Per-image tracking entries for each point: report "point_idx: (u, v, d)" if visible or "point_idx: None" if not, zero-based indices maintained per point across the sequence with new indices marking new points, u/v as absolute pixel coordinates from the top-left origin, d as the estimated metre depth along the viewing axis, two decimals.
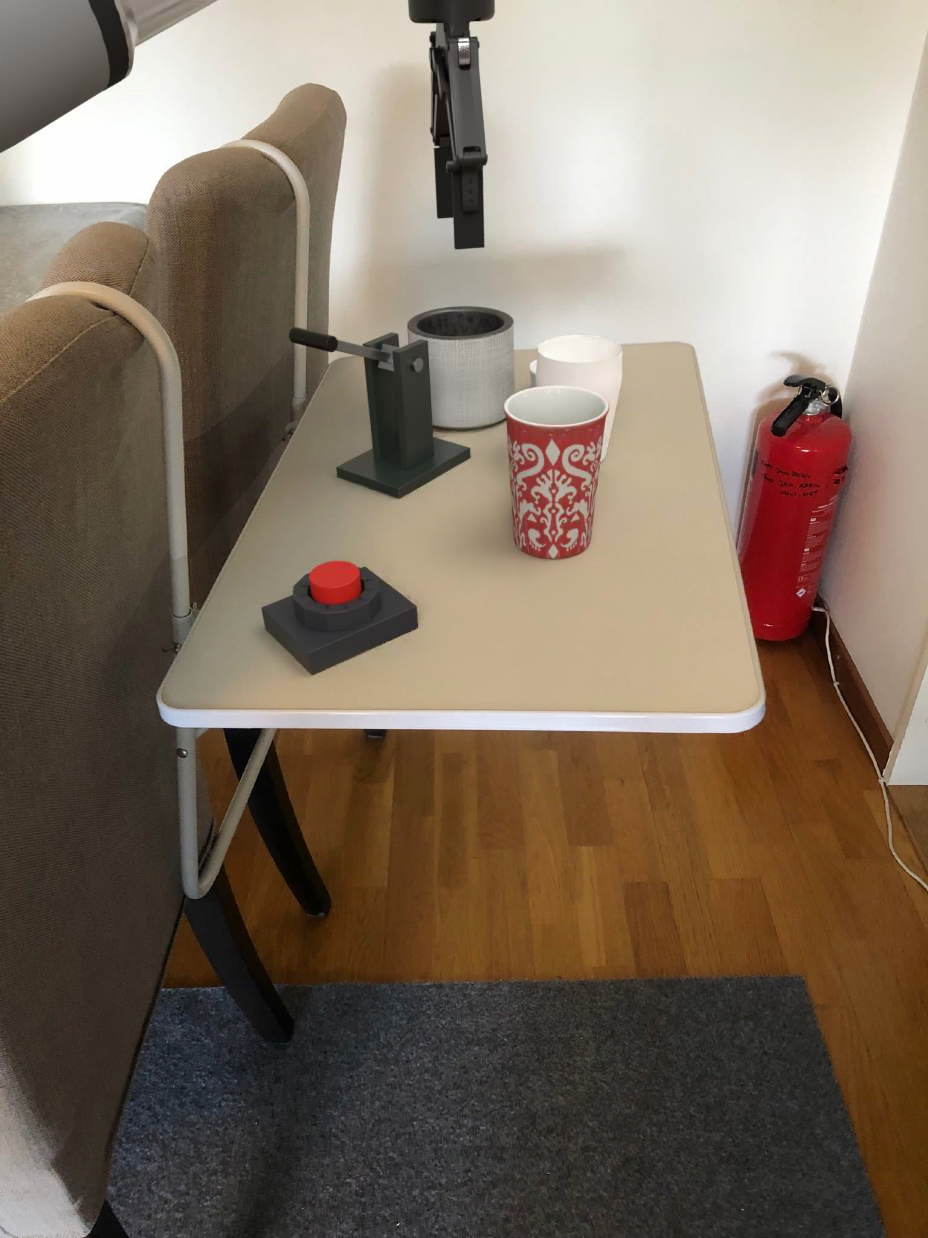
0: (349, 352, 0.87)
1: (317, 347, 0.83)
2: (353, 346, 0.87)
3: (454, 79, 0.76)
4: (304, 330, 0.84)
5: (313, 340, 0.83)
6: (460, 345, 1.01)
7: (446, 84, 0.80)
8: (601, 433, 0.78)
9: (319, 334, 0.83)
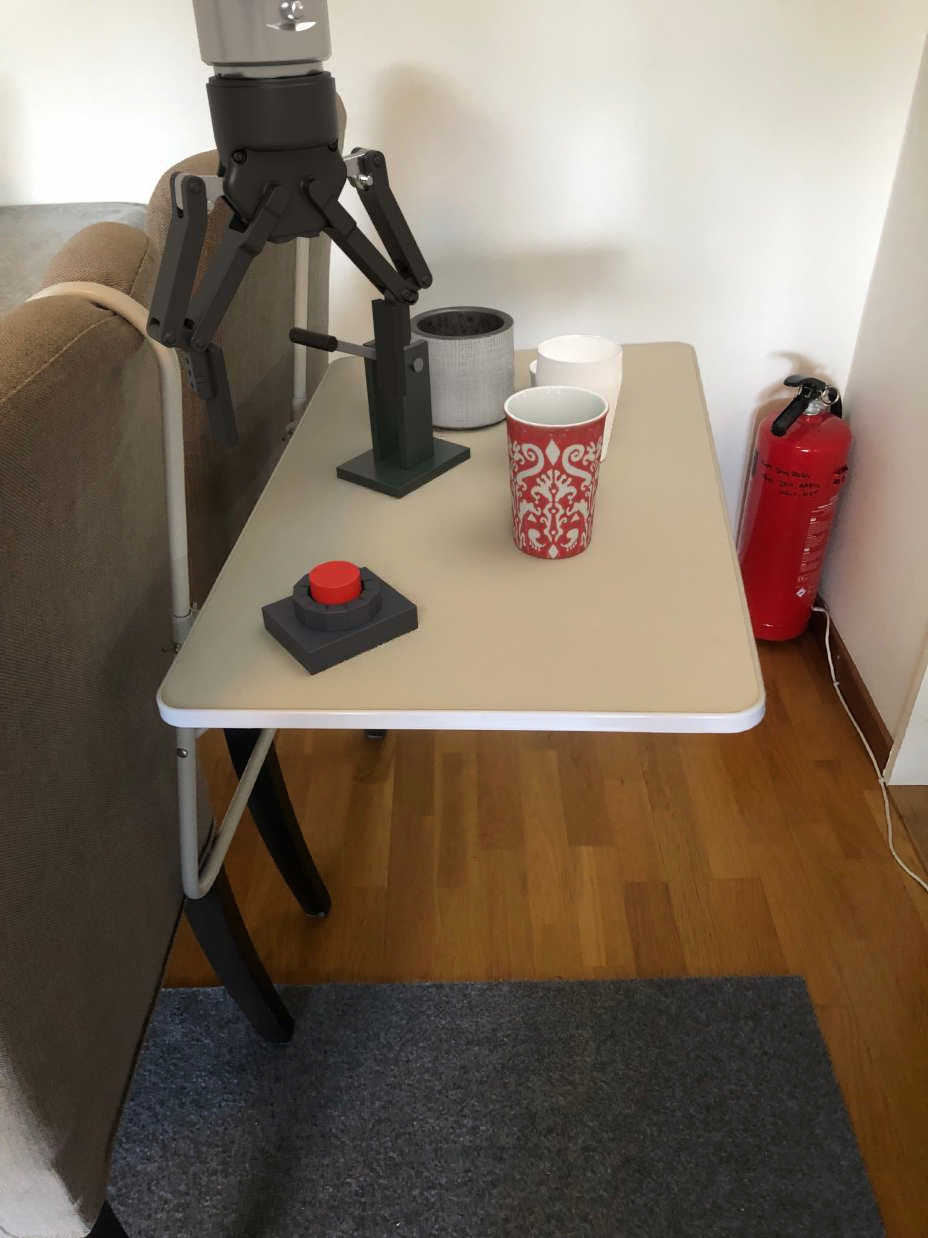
0: (349, 352, 0.87)
1: (317, 347, 0.83)
2: (353, 346, 0.87)
3: (170, 227, 0.55)
4: (304, 330, 0.84)
5: (313, 340, 0.83)
6: (460, 345, 1.01)
7: (226, 228, 0.57)
8: (601, 433, 0.78)
9: (319, 334, 0.83)
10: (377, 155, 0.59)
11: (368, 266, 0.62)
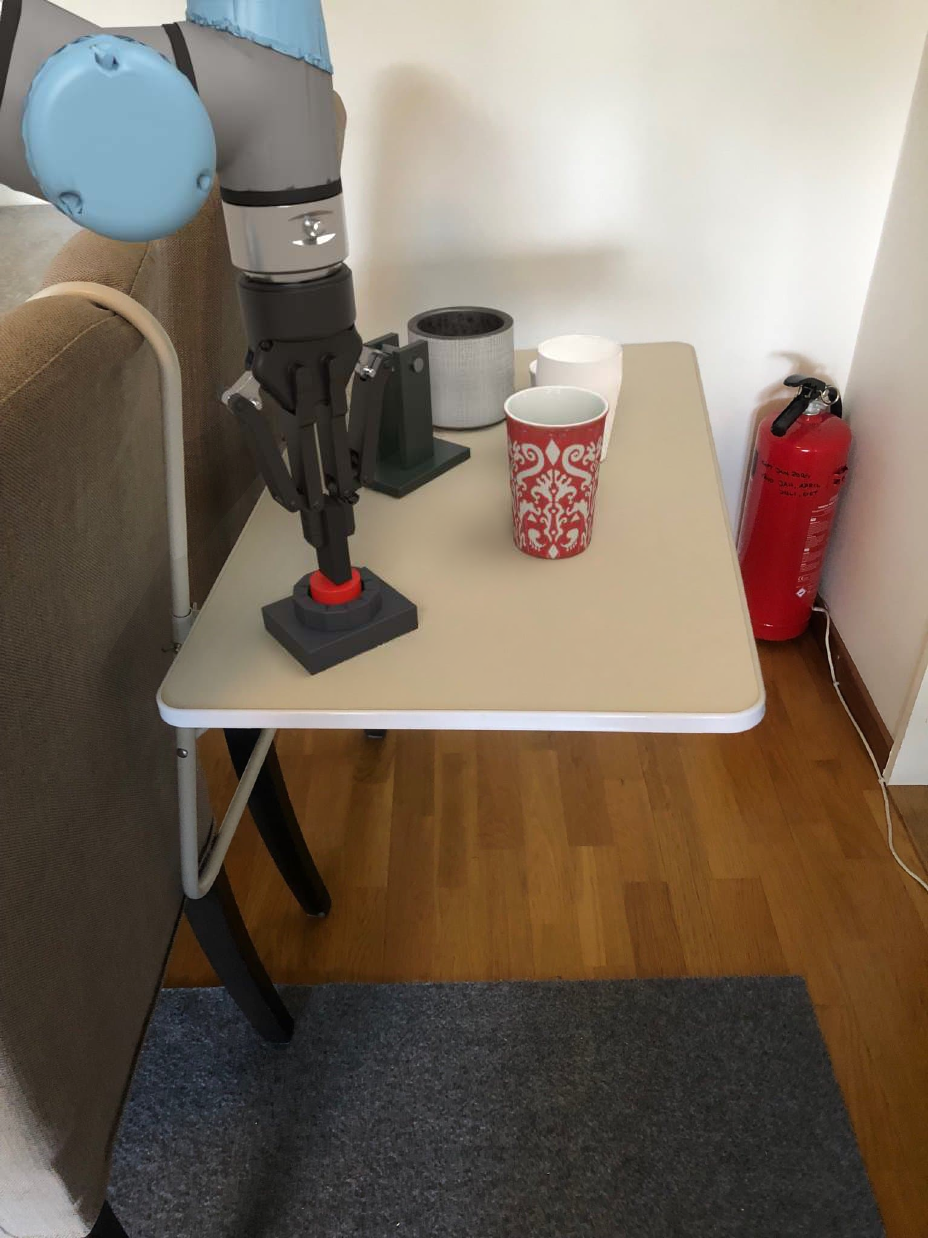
0: None
1: None
2: None
3: (241, 428, 0.63)
4: None
5: None
6: (460, 345, 1.01)
7: (280, 408, 0.65)
8: (601, 433, 0.78)
9: None
10: (389, 359, 0.65)
11: (333, 452, 0.66)
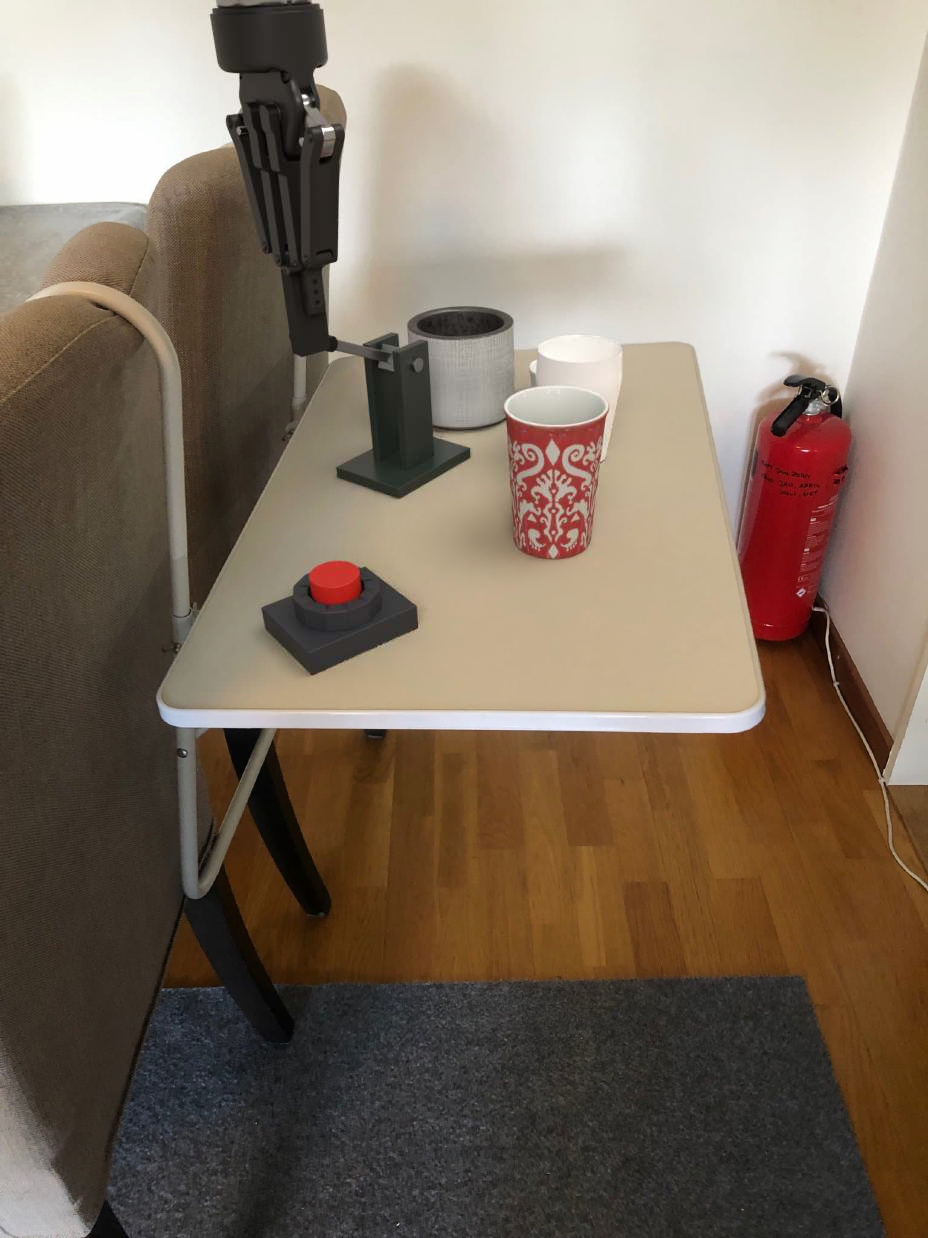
0: (349, 352, 0.87)
1: None
2: (353, 346, 0.87)
3: (312, 176, 0.63)
4: None
5: None
6: (460, 345, 1.01)
7: (285, 163, 0.65)
8: (601, 433, 0.78)
9: None
10: None
11: None
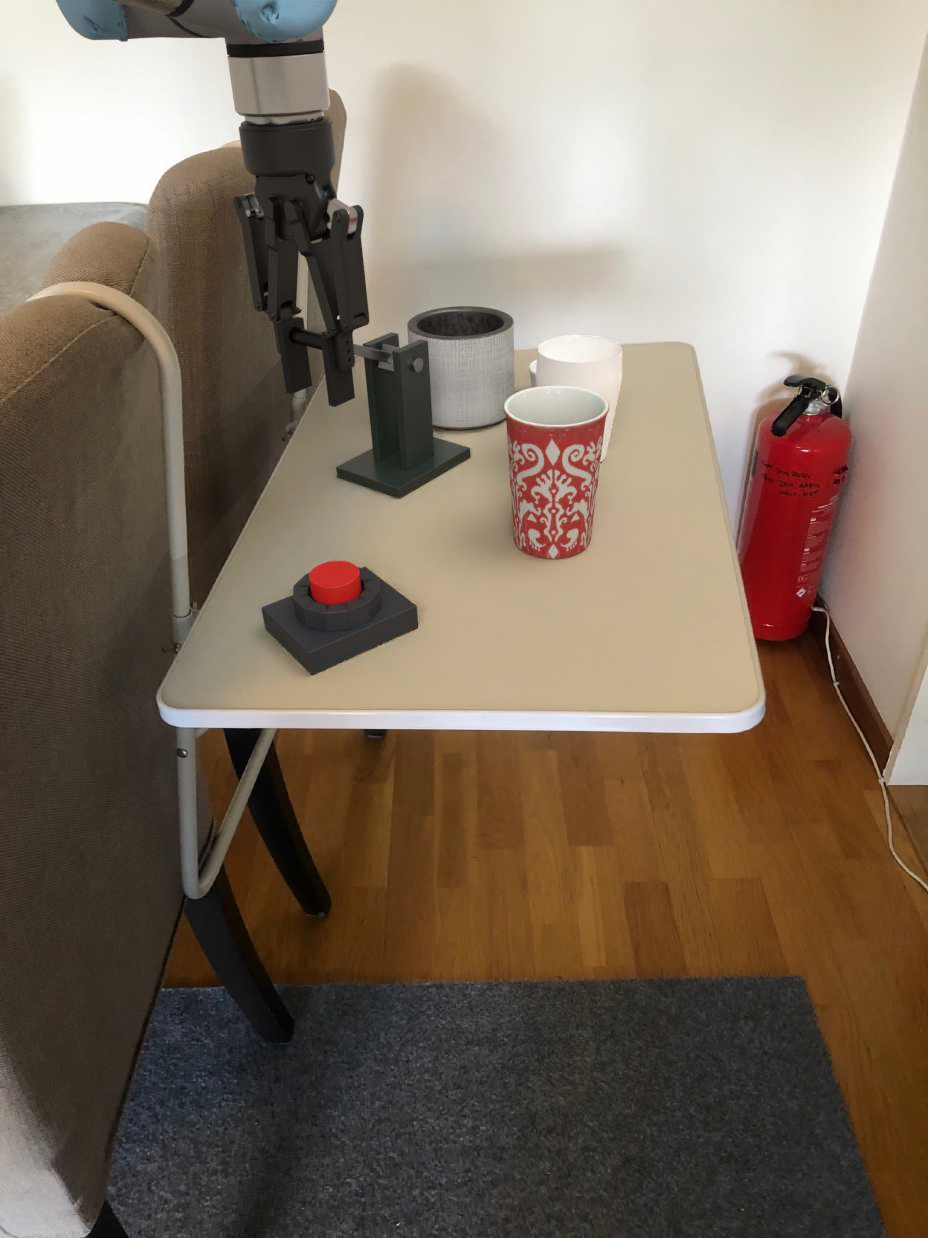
0: None
1: (317, 347, 0.83)
2: None
3: (343, 251, 0.75)
4: (304, 330, 0.84)
5: (313, 340, 0.83)
6: (460, 345, 1.01)
7: (311, 244, 0.77)
8: (601, 433, 0.78)
9: (319, 334, 0.83)
10: None
11: (296, 274, 0.83)
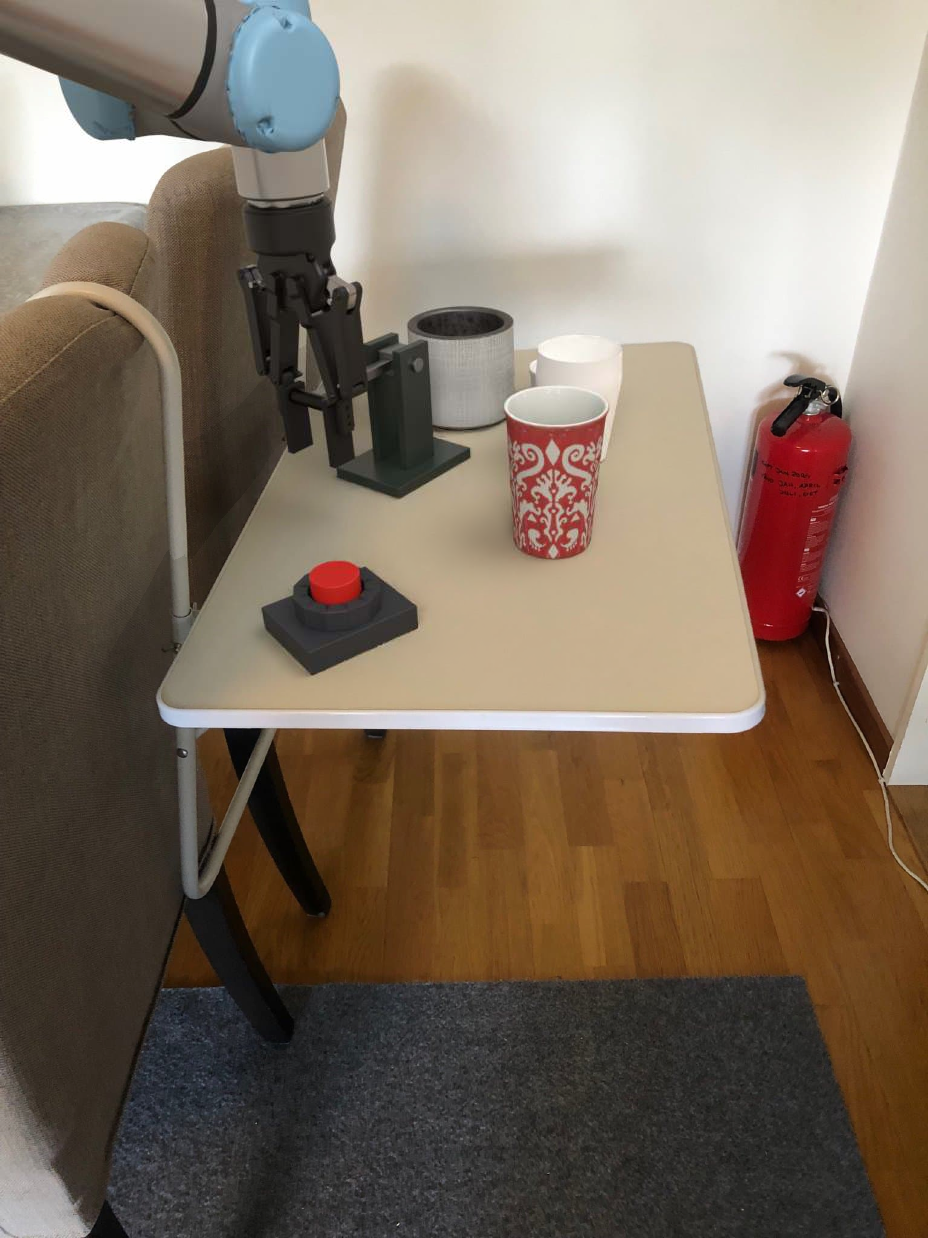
0: None
1: None
2: None
3: (343, 325, 0.78)
4: (301, 393, 0.86)
5: (312, 405, 0.85)
6: (460, 345, 1.01)
7: (312, 318, 0.79)
8: (601, 433, 0.78)
9: (316, 398, 0.85)
10: None
11: (297, 341, 0.85)
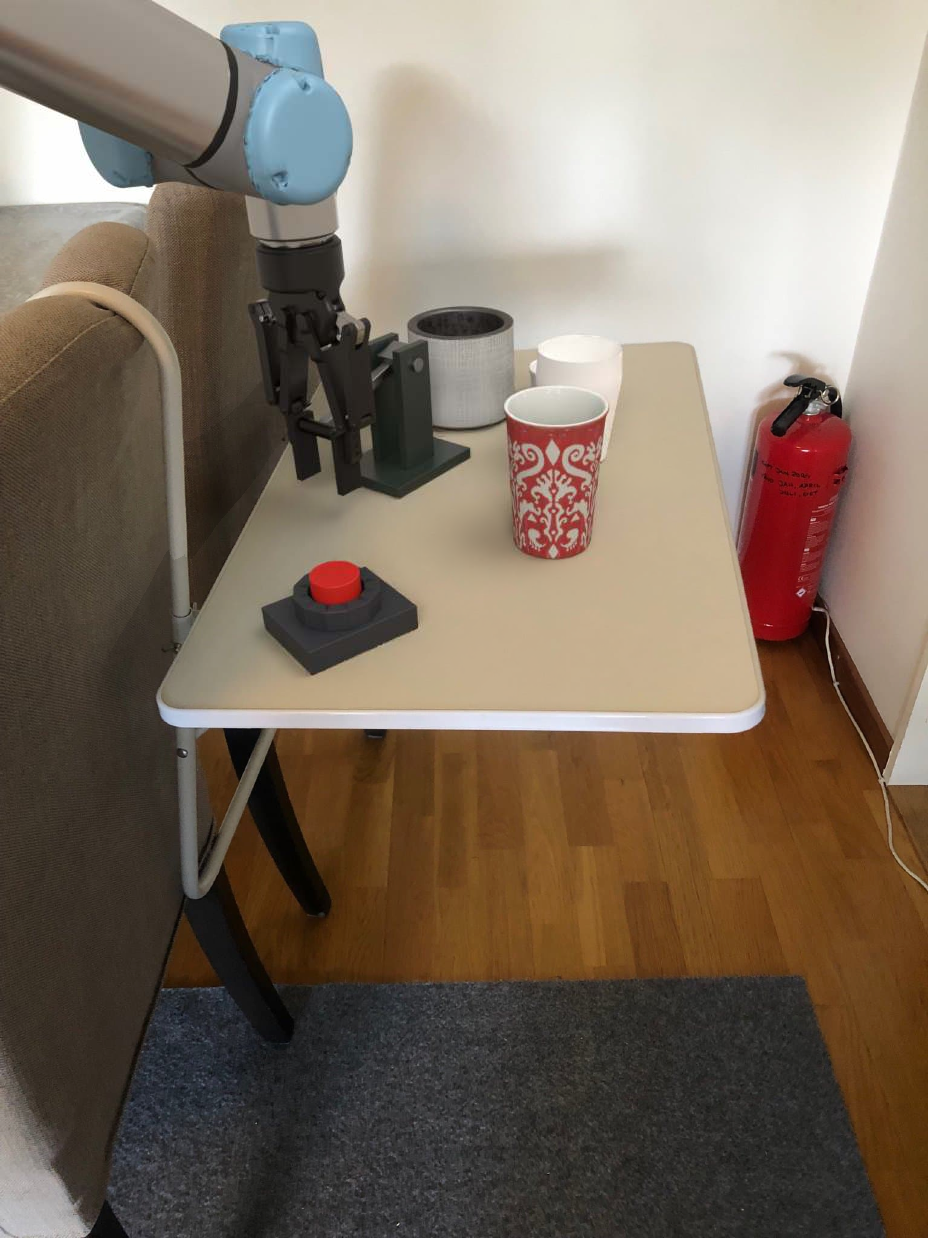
0: None
1: (327, 439, 0.88)
2: None
3: (351, 360, 0.80)
4: (308, 424, 0.88)
5: (321, 436, 0.88)
6: (460, 345, 1.01)
7: (322, 352, 0.82)
8: (601, 433, 0.78)
9: (323, 429, 0.87)
10: None
11: (306, 373, 0.88)
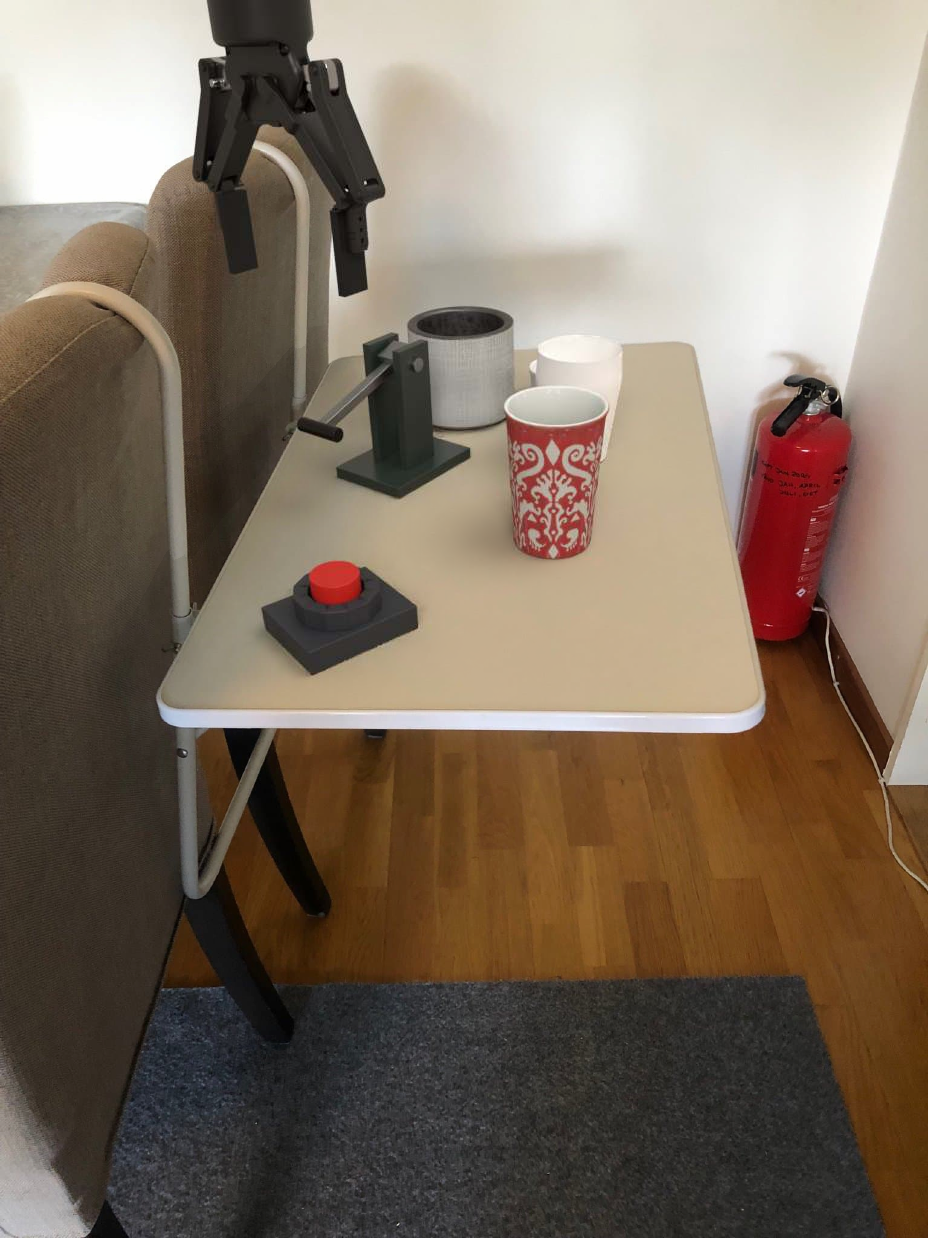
0: (354, 406, 0.90)
1: None
2: (355, 399, 0.90)
3: (330, 107, 0.67)
4: (308, 425, 0.88)
5: (321, 436, 0.88)
6: (460, 345, 1.01)
7: (295, 115, 0.69)
8: (601, 433, 0.78)
9: (323, 430, 0.87)
10: None
11: (248, 152, 0.77)
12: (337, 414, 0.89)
